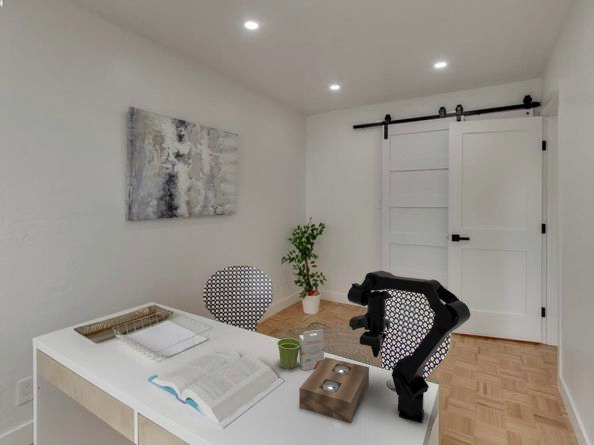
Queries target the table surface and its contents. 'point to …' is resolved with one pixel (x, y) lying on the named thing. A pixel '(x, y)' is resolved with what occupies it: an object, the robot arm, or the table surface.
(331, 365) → the walnut block
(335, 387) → the peg near
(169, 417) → the table surface
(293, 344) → the plant pot
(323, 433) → the table surface
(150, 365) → the table surface
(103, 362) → the table surface
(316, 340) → the ink cartridge box
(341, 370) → the peg far
